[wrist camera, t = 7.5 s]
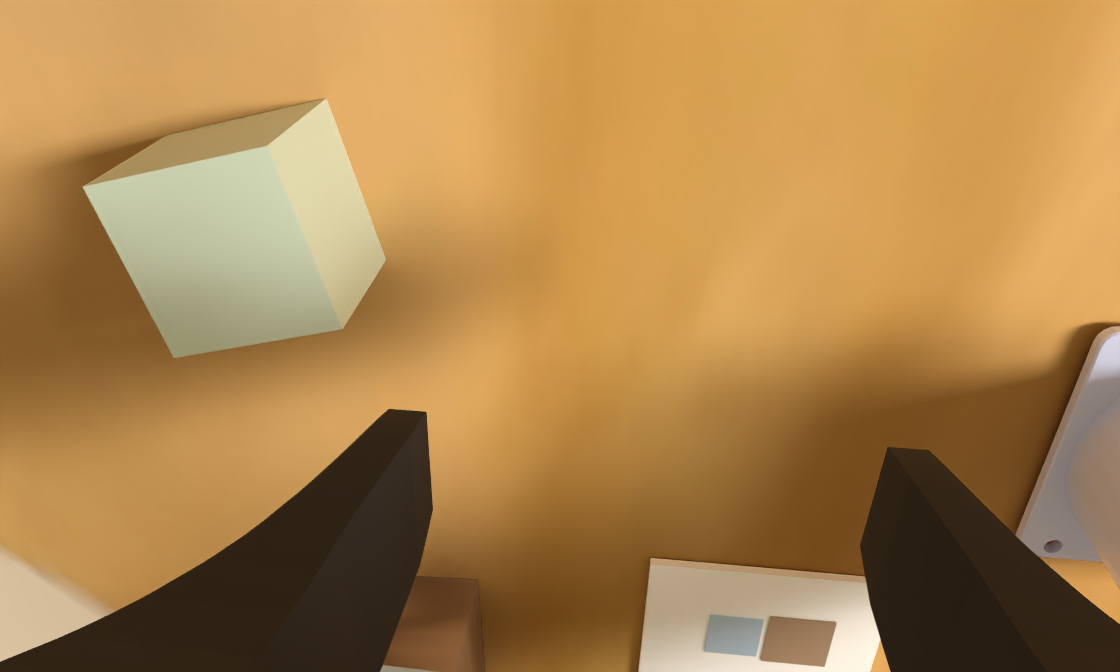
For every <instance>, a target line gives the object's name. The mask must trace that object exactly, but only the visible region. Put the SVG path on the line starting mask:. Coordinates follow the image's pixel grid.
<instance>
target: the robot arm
mask: <svg viewBox="0 0 1120 672" xmlns="http://www.w3.org/2000/svg"><path fill="white" fill-rule="evenodd" d="M432 511H433V505H432V490H431V475H430V460H429V445H428V429H427V414H426V412H421V411H408V410H395V409H388V410H387V411H386V412H385V413H384V414H382V415H381V416H380V417H379V418H378V419H377V420H376V421H375V422H374V423H373V424H372V425H371V426H370V427H369V428H368V429H367V430H366V431H365V432H364V433H363V434H362V435H361V436H360V437H359V438H357V439H356V440H355V441H354V442H353V443H352V444H351V445H350V446H349V447H348V448H347V449H346V450H345V451H344V452H343V453H342V454H341V455H340V456H339V457H338V458H336V459H335V460H334V461H333V462H332V463H331V464H330V465H329V466H328V467H327V468H325V469H324V470H323V471H322V472H321V473H320V474H319V475H318V476H317V477H315V478H314V479H313V480H312V481H311V482H310V483H309V484H308V485H307V486H305V487H304V488H303V489H302V490H301V491H300V492H298V493H297V494H296V495H295V496H294V497H292V498H291V499H290V500H289V501H287V502H286V503H285V504H284V505H283V506H281V507H280V508H279V509H278V510H276V511H275V512H274V513H273V514H271V515H270V516H269V517H268V518H267V519H265V520H264V521H263V522H261V523H260V524H259V525H257V526H256V527H255V528H253V529H252V530H251V531H249V532H248V533H247V534H245V535H244V536H243V537H241V538H240V539H238V540H237V541H235V542H234V543H232V544H231V545H229V546H228V547H226V548H225V549H223V550H222V551H220V552H219V553H217V554H216V555H215V556H213V557H211V558H210V559H208V560H207V561H205V562H204V563H202V564H200V565H199V566H197V567H195V568H193V569H192V570H190V571H188V572H187V573H185V574H183V575H181V576H180V577H178V578H176V579H174V580H173V581H171V582H169V583H168V584H166V585H164V586H162V587H161V588H159V589H157V590H156V591H154V592H152V593H150V594H149V595H147V596H145V597H143V598H141V599H139V600H137V601H135V602H133V603H131V604H129V605H127V606H125V607H124V608H122V609H120V610H118V611H116V612H114V613H112V614H110V615H108V616H105V617H103V618H101V619H99V620H97V621H95V622H93V623H91V624H89V625H86V626H85V627H82V628H80V629H78V630H76V631H73V632H71V633H69V634H67V635H64V636H62V637H60V638H58V639H55V640H53V641H50V642H48V643H45V644H43V645H40V646H38V647H36V648H33V649H31V650H28V651H26V652H23V653H21V654H18V655H16V656H13V657H11V658H8V659H6V660H4V661H1V662H0V672H380V671H381V668H382V666H383V663H384V660H385V658H386V655H387V652H388V650H389V647H390V644H391V642H392V639H393V636H394V634H395V631H396V628H397V626H398V623H399V620H400V618H401V615H402V612H403V610H404V607H405V604H406V602H407V599H408V596H409V594H410V591H411V588H412V585H413V583H414V580H415V577H416V574H417V572H418V569H419V566H420V562H421V558H422V554H423V550H424V546H425V542H426V537H427V533H428V529H429V524H430V520H431V515H432ZM1052 540H1055V541H1054V542H1052V543H1048V544H1046V543H1047V542H1049V541H1052ZM860 547H861V554H862V560H863V566H864V573H865V579H866V584H867V590H868V595H869V601H870V606H871V609H872V613H873V616H874V619H875V623H876V626H877V629H878V632H879V636H880V639H881V642H882V645H883V649H884V652H885V655H886V658H887V661H888V665H889V668H890V671H891V672H1120V624H1119V623H1117V622H1116V621H1115V620H1113V619H1112V618H1111V617H1109V616H1108V615H1107V614H1105V613H1104V612H1103V611H1102V610H1100V609H1099V608H1098V607H1097V606H1095V605H1094V604H1093V603H1092V602H1090V601H1089V600H1088V599H1087V598H1085V597H1084V596H1083V595H1082V594H1081V593H1079V592H1078V591H1077V590H1076V589H1075V588H1074V587H1073V586H1071V585H1070V584H1069V583H1068V582H1067V581H1066V580H1064V579H1063V578H1062V577H1061V576H1060V575H1059V574H1057V573H1056V572H1055V571H1054V570H1053V569H1052V568H1050V567H1049V566H1048V565H1047V564H1046V563H1045V562H1044V561H1043V560H1041V559H1040V558H1039V557H1048V558H1060V559H1072V560H1084V561H1096V562H1103V564H1104V565H1105V567H1106V568H1107V570H1108V572H1109V573H1110V575H1111V577H1112V578H1113V580H1114V581H1115V583H1116V585H1117V586H1118V588H1119V589H1120V326H1113V327H1110V328H1107V329H1105V330H1103V331H1102V332H1100V333H1099V334H1098V335H1097V336H1096V338H1095V339H1094V341H1093V343H1092V346H1091V348H1090V351H1089V353H1088V356H1087V358H1086V361H1085V363H1084V366H1083V368H1082V371H1081V373H1080V376H1079V378H1078V381H1077V383H1076V386H1075V388H1074V391H1073V393H1072V395H1071V398H1070V400H1069V403H1068V405H1067V408H1066V410H1065V413H1064V415H1063V418H1062V420H1061V423H1060V425H1059V428H1058V430H1057V433H1056V435H1055V438H1054V440H1053V443H1052V445H1051V448H1050V450H1049V453H1048V455H1047V458H1046V460H1045V463H1044V465H1043V468H1042V470H1041V473H1040V475H1039V477H1038V480H1037V482H1036V485H1035V487H1034V490H1033V492H1032V495H1031V497H1030V500H1029V502H1028V505H1027V507H1026V510H1025V512H1024V515H1023V517H1022V520H1021V522H1020V525H1019V527H1018V530H1017V532H1016V535H1014V534H1013V533H1012V532H1011V531H1010V530H1009V529H1008V528H1007V527H1006V526H1005V525H1004V524H1003V523H1002V522H1001V521H1000V520H999V519H998V518H997V517H996V516H995V515H994V514H993V513H992V512H991V511H990V510H989V509H988V508H987V507H986V506H985V505H984V504H983V503H982V502H981V501H980V500H979V499H978V498H977V497H976V496H975V495H974V494H973V493H972V492H971V491H970V490H969V489H968V488H967V487H966V486H965V485H964V484H963V483H962V482H961V481H960V480H959V479H958V478H957V477H956V476H955V475H954V474H953V473H952V472H951V471H950V470H949V469H948V468H947V467H946V466H945V465H944V464H943V463H941V462H940V461H939V460H938V459H937V458H936V457H935V456H934V455H933V454H932V453H931V452H930V451H929V450H918V449H905V448H892V447H888V448H887V452H886V455H885V459H884V463H883V466H882V470H881V473H880V477H879V480H878V484H877V488H876V491H875V495H874V498H873V502H872V505H871V509H870V513H869V516H868V520H867V523H866V527H865V530H864V534H863V538H862V541H861V545H860Z"/></svg>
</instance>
